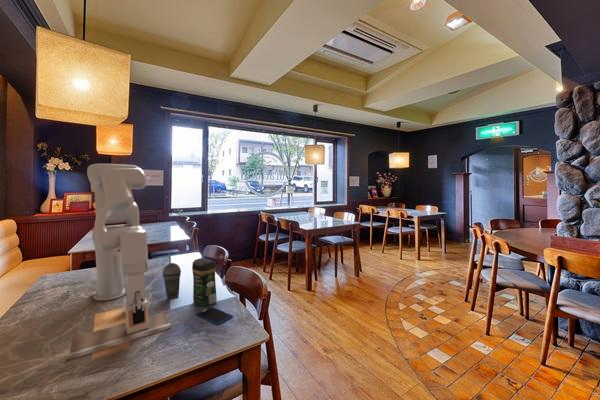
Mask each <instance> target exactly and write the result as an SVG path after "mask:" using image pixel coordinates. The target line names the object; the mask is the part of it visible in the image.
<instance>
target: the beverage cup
mask: <svg viewBox="0 0 600 400" xmlns="http://www.w3.org/2000/svg"><path fill="white" fill-rule="evenodd" d="M167 257H168V261H169V263H168V264H166V265H165V267H164V268H163V271H162V277H163V281H164V288H165V295H166V300H167V301H168V300H169V301H170V300H171V301H172V300H176V299H177V300H178V299H179V296H180V282H181V279H180V278H181V274H182V270H181V267H180V265H179V264H178V263H175V262H174V263H173V262H171V255H170V253H168V256H167Z"/></svg>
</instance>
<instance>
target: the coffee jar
mask: <svg viewBox="0 0 600 400" xmlns="http://www.w3.org/2000/svg"><path fill="white" fill-rule="evenodd" d="M216 266H217V265H216V261H214V260H212V259H211V260H210V259H207V258H204V257H201V258H197V259H194V261H192V266H191V267H192V269H191V270H192V276H193V278H192V279H193V281H192V282H193V288H192V289H193V290H192V291H193V293H192V301H193V303H194V304H195V305H197V306H199V307H204V308H205V307H210V306H212V305H214V304H215V303H216V302H217V301H218V300H217V288H216V287H217V285H216V269H217V267H216ZM209 305H210V306H209Z"/></svg>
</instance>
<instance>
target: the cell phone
mask: <svg viewBox="0 0 600 400" xmlns="http://www.w3.org/2000/svg"><path fill="white" fill-rule="evenodd" d="M195 316H197V317H199V318H201V319H203V320H204V321H208V322H209V323H211V324H213V325H215V326H220V325H222V324H224V323H226V322H227V321H230V320H231V319H233V318H234V315H232V314H230V313H227V312H225V311H223V310H221V309H219V308H216V307H213V306H208V307H206V308H204V309H203V310H200V311H198V312H196V313H195Z"/></svg>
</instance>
